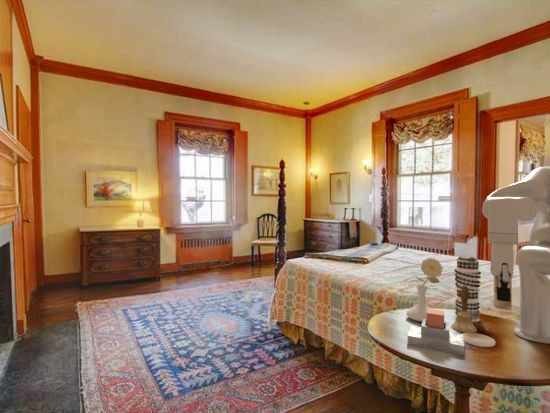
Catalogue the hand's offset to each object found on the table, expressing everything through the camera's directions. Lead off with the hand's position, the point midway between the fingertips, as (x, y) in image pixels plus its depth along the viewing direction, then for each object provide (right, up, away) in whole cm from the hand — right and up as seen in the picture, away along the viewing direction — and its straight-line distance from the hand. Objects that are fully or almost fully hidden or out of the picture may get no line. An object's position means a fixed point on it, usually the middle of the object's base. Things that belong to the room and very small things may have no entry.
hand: (502, 297), depth 99 cm
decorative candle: (+9, -18, +33) cm, 38 cm away
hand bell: (+1, -18, +22) cm, 28 cm away
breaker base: (-16, -18, +8) cm, 25 cm away
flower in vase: (-10, -18, +31) cm, 37 cm away
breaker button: (-16, -11, +8) cm, 22 cm away
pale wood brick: (0, -3, 0) cm, 3 cm away
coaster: (-1, -18, +11) cm, 21 cm away
